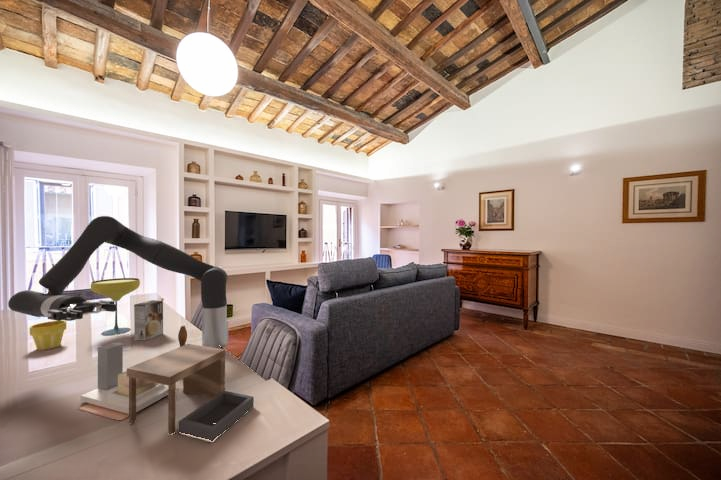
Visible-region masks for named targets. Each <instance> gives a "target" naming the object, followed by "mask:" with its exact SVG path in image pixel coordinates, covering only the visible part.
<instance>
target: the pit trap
mask: <svg viewBox="0 0 721 480" xmlns="http://www.w3.org/2000/svg"><path fill="white" fill-rule="evenodd" d="M254 398H255V397H254V396H251V395H248V394H243V393H238V392H233V391H227V390H225V391H222V392H221V393H219V394H218V395H217V396H215V397H214V398H210V399H209V400H208V401H206V402H205V403H204V404H202V405H200V406H199V407H197V408H196V409H194V410H193V411H191V412H190V413H189V414H187V415H186V416H185V417H183V418H181V419H180V420H179V421H178V433H179V432H181V433H185V434H190V435H193V436H196V437H201V438H205V439H209V440H211V441H213V440H214V439H215V438H216V437H217V436H219V435H220V434H222V433H223V432H224V431H225V430H227V429H228V428H229V429H231V428H232V427H233V426H234V425H235V424H236V423H237V422H238V421H237V420H239V419H240V418H241V417H242V416H243V415H244V414H245V413H246V412H247V411H249V410H250V409H251V408H252V407H253V408H254ZM253 408H252V409H253ZM252 409H251V410H252ZM251 410H250V411H251ZM250 411H249V412H250ZM244 416H245V415H244ZM244 416H243V417H244ZM243 417H242V418H243ZM242 418H241V419H242ZM241 419H240V420H241ZM236 421H237V422H236ZM235 422H236V423H235ZM213 423H216V424H213ZM234 423H235V424H234ZM233 424H234V425H233ZM232 425H233V426H232ZM231 426H232V427H231ZM230 427H231V428H230ZM229 429H228V430H229ZM228 430H227V431H228Z"/></svg>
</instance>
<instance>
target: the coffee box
mask: <svg viewBox="0 0 721 480" xmlns="http://www.w3.org/2000/svg"><path fill="white" fill-rule="evenodd" d="M133 307H134V308H133V313H134V317H133V318H134V322H133V323H134V340H135V339H136V341H148V340H151V339H153V338H156V337H158V335H159V336H161V335H163V334H164V300H149V301H148V300H147V301H143V302H139V303H135V304H134V305H133Z"/></svg>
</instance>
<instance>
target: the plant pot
mask: <svg viewBox="0 0 721 480" xmlns="http://www.w3.org/2000/svg"><path fill="white" fill-rule="evenodd" d="M65 330H67V321H66V320H61V321H56V320H52V321H44V322H39V323H35V324H32V325H31V326H29V336H32V339H33V341H34V344H35V347H36V350H38V351H44V350H50V349H54V348H57V347H60V346H61V344H62V340H63V337H64V332H65Z"/></svg>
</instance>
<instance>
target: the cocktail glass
mask: <svg viewBox="0 0 721 480" xmlns="http://www.w3.org/2000/svg"><path fill="white" fill-rule="evenodd" d="M140 285H141V280H140V278H137V277H135V278H133V277H123V278H120V277H119V278H108V279H99V280H94V281H91V283H90V289H91V291H92V292H93V293H95V294H97V295H100V296H103V297H106V298H109V299H111V301H115V303H114V304H116V305H117V306H118V301H120V300H121V299H122V298H123V297H124V296H126V295H128V294H130V293H132V292H134V291H135V290H137V289H138V288H140ZM114 312H115V313H114V314H115V319H114V327H113V328H111V329H108V330H104V331H102V332H101V336H115V334H117V335H121V334H120V333H122V334H125V333H128V332H130V331H131V328H130V327H119V326H118V324H119V323H118V309H117V310H116V311H114ZM129 330H130V331H129ZM127 331H128V332H127Z"/></svg>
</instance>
